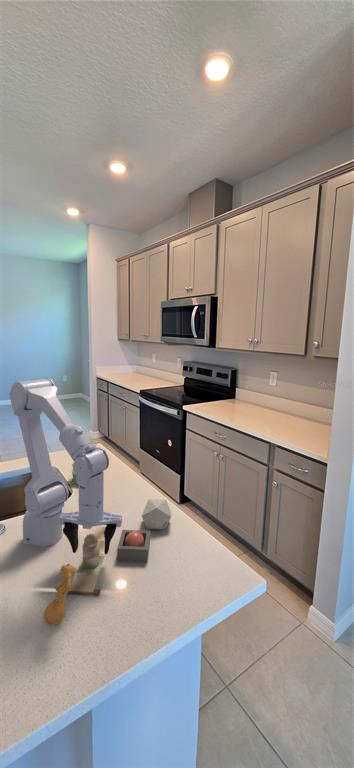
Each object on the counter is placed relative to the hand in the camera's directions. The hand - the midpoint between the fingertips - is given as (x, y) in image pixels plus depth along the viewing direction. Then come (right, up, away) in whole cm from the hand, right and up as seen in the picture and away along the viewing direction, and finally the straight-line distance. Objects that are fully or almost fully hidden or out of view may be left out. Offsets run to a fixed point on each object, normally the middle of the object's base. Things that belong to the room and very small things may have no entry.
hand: (91, 550), depth 80 cm
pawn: (0, -3, +1) cm, 3 cm away
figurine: (-3, -7, -14) cm, 16 cm away
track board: (0, -4, +4) cm, 5 cm away
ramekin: (-14, +4, +44) cm, 46 cm away
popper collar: (+10, -4, +6) cm, 12 cm away
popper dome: (+10, -3, +6) cm, 12 cm away
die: (+15, -2, +18) cm, 23 cm away
